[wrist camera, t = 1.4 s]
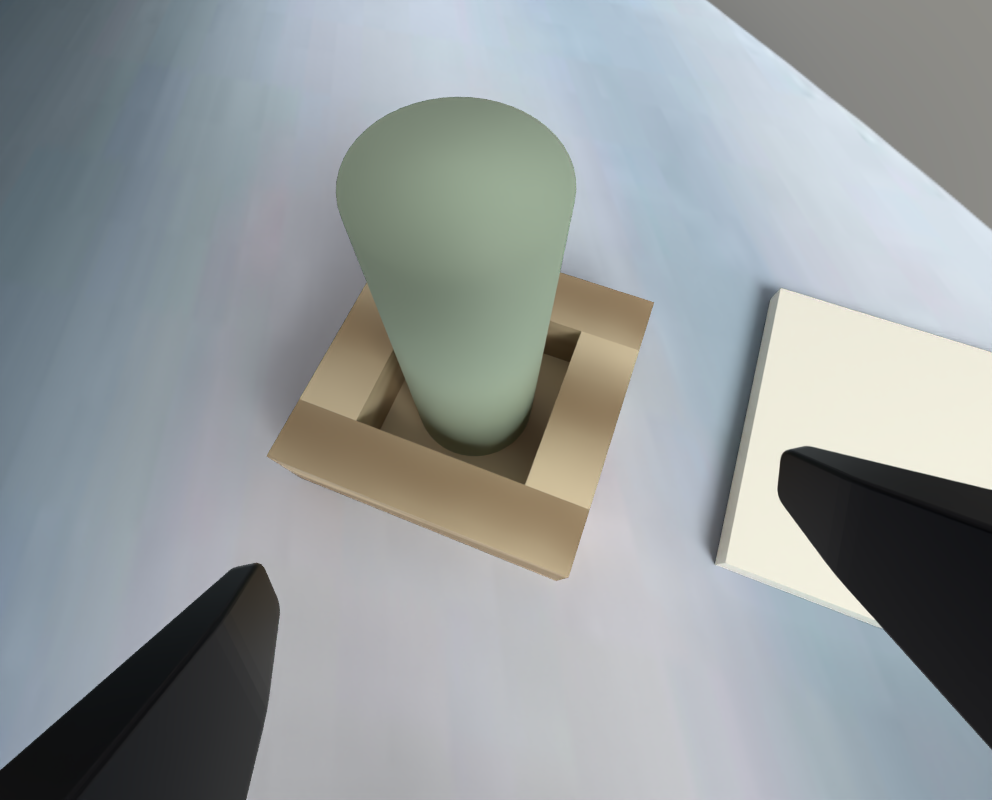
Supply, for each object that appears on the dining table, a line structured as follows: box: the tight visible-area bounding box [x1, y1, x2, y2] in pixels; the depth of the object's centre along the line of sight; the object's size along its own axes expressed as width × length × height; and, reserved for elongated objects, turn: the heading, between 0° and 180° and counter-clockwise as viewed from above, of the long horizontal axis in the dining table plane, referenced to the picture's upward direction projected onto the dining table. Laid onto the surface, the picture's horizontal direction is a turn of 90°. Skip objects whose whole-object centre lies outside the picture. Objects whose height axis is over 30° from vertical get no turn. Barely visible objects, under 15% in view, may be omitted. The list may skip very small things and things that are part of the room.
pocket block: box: [267, 273, 654, 581], centre depth 22 cm, size 12×12×4 cm
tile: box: [715, 288, 992, 629], centre depth 22 cm, size 14×12×1 cm
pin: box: [336, 97, 576, 456], centre depth 17 cm, size 5×5×13 cm
